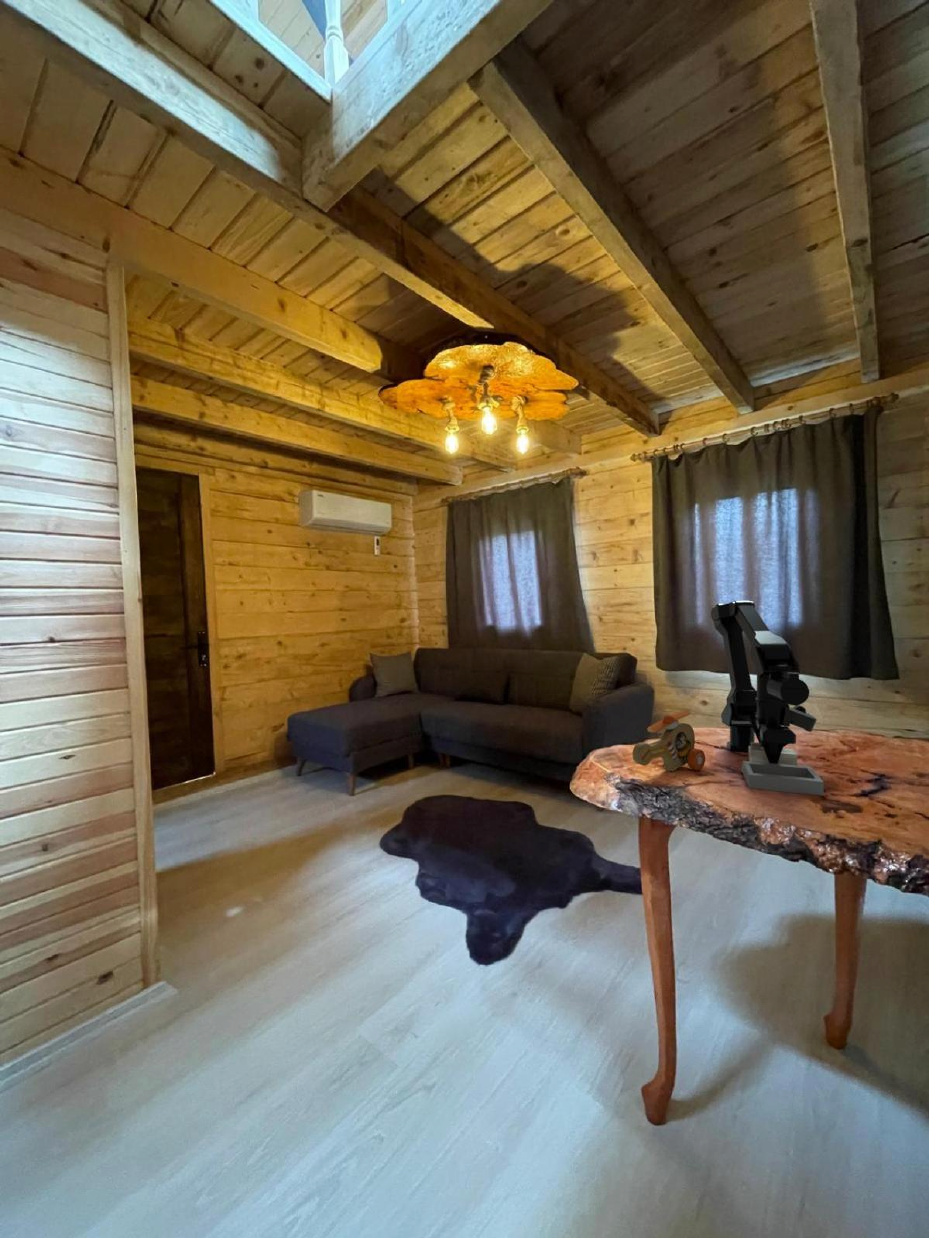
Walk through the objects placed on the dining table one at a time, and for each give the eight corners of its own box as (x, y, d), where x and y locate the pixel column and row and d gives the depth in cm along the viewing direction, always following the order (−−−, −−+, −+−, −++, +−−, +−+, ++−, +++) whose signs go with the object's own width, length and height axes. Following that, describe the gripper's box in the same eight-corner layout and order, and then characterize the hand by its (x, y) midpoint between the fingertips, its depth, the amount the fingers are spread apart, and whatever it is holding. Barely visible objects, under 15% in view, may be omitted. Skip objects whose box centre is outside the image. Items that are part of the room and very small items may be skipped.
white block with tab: (748, 764, 119) (748, 740, 119) (793, 768, 116) (793, 743, 116) (751, 770, 116) (751, 744, 116) (797, 774, 112) (797, 748, 112)
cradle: (742, 772, 114) (742, 760, 113) (810, 779, 109) (810, 766, 109) (749, 787, 105) (749, 774, 105) (823, 795, 100) (823, 781, 100)
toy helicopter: (708, 767, 117) (708, 709, 117) (652, 788, 106) (651, 723, 106) (677, 758, 124) (676, 703, 124) (621, 777, 113) (620, 716, 112)
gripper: (825, 706, 104) (824, 781, 104) (802, 690, 121) (801, 754, 122) (763, 703, 108) (763, 775, 108) (749, 688, 125) (749, 750, 126)
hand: (771, 763), depth 116 cm, fingers open, 6 cm apart
